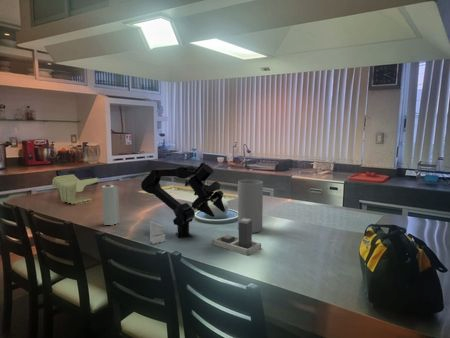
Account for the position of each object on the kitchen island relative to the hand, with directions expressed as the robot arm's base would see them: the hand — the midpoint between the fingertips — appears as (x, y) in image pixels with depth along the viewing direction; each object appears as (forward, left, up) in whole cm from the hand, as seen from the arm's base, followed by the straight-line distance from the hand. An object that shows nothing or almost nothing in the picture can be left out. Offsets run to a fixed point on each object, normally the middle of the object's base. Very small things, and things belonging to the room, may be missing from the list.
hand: (219, 214), depth 141 cm
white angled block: (-12, -26, -14) cm, 32 cm away
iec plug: (+10, +8, -14) cm, 19 cm away
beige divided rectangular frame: (+6, +6, -14) cm, 16 cm away
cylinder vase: (-12, +21, -14) cm, 28 cm away
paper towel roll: (-47, -46, -14) cm, 67 cm away
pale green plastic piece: (-111, -68, -14) cm, 131 cm away
